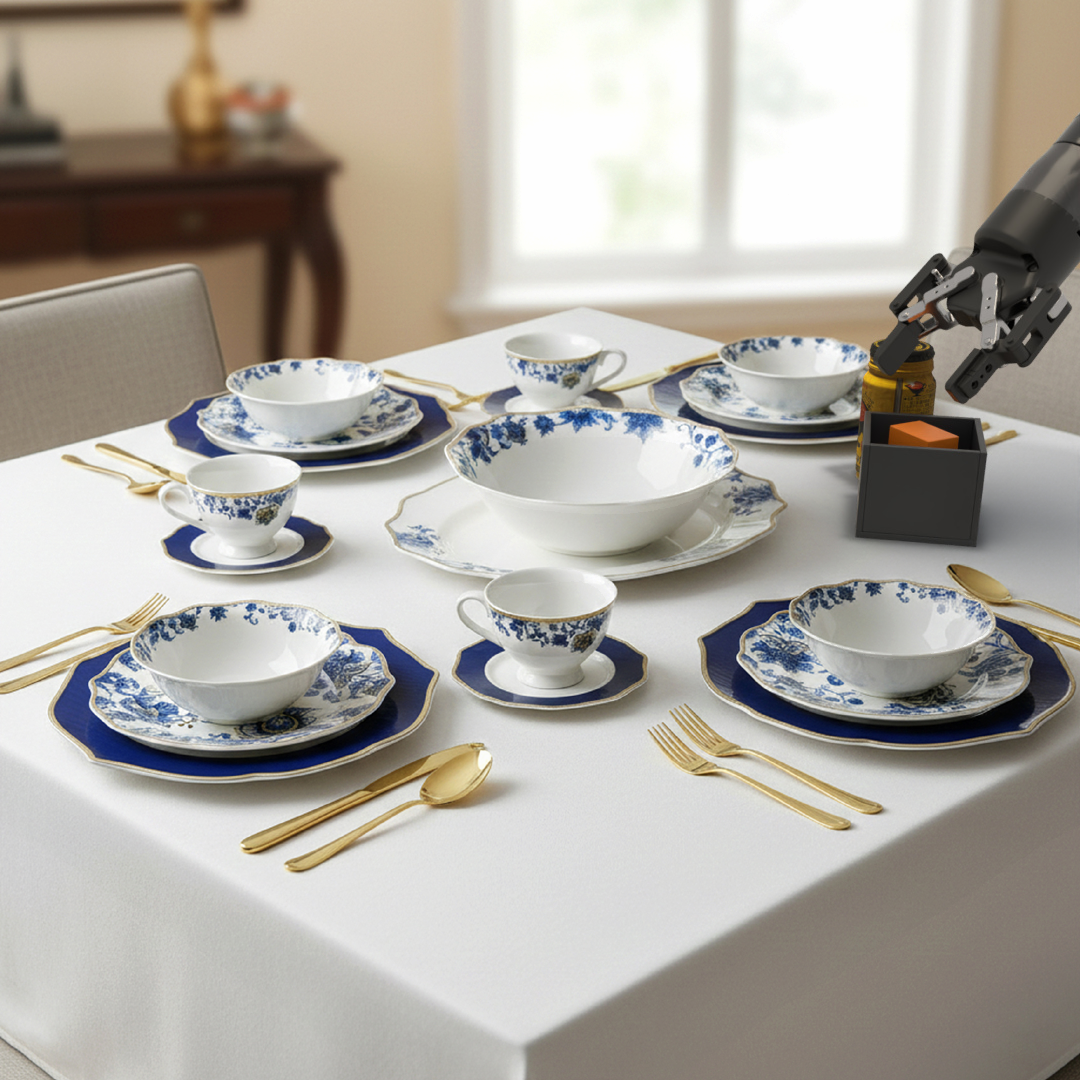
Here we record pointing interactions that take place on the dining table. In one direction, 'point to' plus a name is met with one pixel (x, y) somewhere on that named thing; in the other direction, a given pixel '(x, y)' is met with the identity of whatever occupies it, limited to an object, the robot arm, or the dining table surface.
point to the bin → (921, 483)
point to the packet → (921, 436)
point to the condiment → (898, 388)
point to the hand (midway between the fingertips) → (915, 382)
